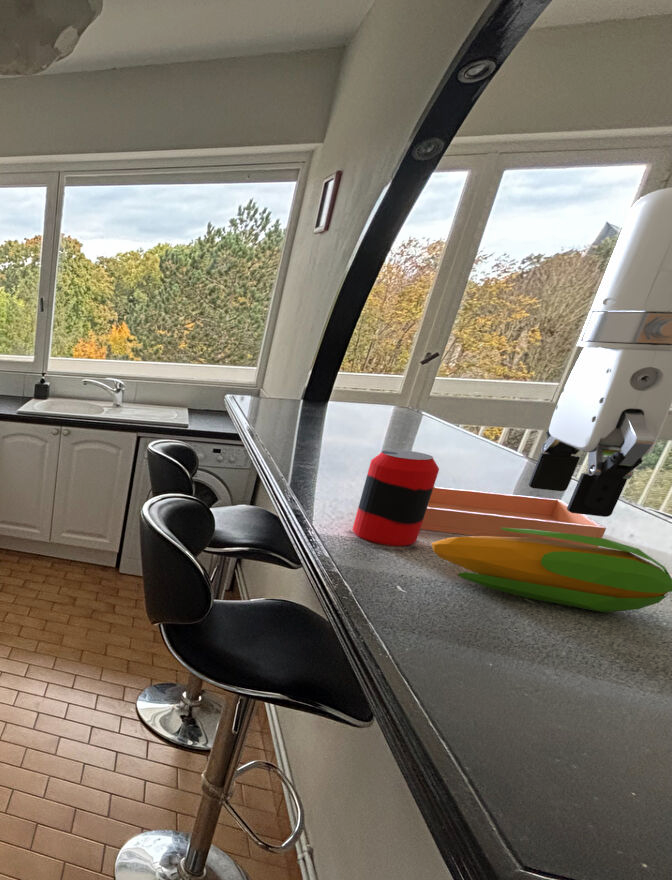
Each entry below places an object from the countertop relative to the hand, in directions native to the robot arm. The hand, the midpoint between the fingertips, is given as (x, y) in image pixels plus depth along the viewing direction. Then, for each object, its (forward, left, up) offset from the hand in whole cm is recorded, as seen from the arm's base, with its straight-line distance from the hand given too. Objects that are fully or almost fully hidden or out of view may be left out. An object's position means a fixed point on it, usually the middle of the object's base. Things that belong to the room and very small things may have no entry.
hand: (565, 500), depth 63 cm
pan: (-1, -27, -11) cm, 29 cm away
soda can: (+12, -14, -11) cm, 22 cm away
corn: (0, 0, -11) cm, 11 cm away
